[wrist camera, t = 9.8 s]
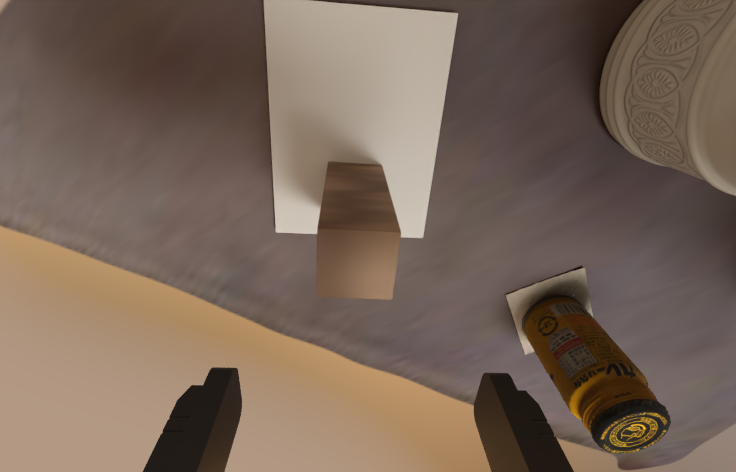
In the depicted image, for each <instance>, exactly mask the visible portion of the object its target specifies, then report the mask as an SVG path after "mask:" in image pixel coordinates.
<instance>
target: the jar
mask: <svg viewBox="0 0 736 472" xmlns="http://www.w3.org/2000/svg"><path fill="white" fill-rule="evenodd" d="M600 108H601V113H602V117H603V120H604V123H605V125H606V127H607V129H608V131H609V132H610V134H611V135H612V137H613V138H614V139H615V140H616V141H617V142H618V143H619V144H621V145H622V146H623V147H624V148H625V149H626V150H628V151H629V152H630V153H632V154H633V155H635V156H637V157H638V158H641V159H643V160H646V161H648V162H650V163H653V164H656V165H660V166H665V167H671V168H674V169H676V170H679V171H681V172H684V173H686V174H689V175H692V176H694V177H697V178H699V179H702V180H705V181H707V182H708V183H709V184H711V185H712V186H714V187H715V188H717V189H719V190H721V191H723V192H725V193H727V194H731V195H734V196H736V0H643V1H642V2H641V3H640V4H639V6H638V7H637V8H636V9H635V10H634V11H633V13H632V14H631V15H630V17H629V18H628V19H627V21H626V22H625V23H624V25H623V26H622V28H621V30H620V31H619V33H618V35H617V36H616V38H615V40H614V42H613V44H612V46H611V48H610V51H609V53H608V56H607V58H606V61H605V64H604V68H603V72H602V76H601V82H600Z"/></svg>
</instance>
